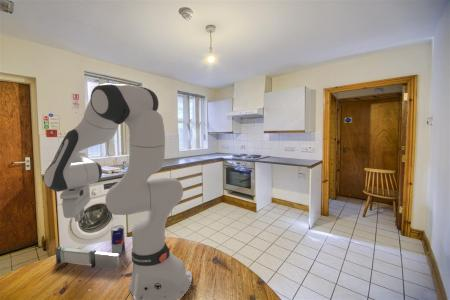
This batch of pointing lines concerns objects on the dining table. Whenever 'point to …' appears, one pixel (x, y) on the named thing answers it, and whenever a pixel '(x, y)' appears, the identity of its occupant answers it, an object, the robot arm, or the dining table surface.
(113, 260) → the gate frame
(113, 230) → the energy drink
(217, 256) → the dining table surface
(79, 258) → the gate
